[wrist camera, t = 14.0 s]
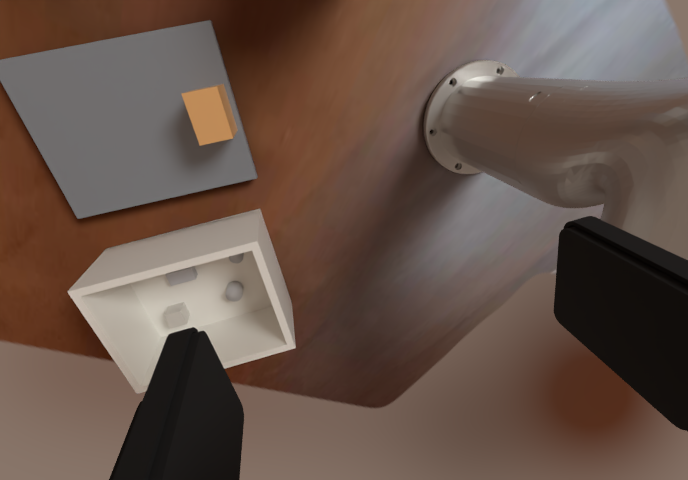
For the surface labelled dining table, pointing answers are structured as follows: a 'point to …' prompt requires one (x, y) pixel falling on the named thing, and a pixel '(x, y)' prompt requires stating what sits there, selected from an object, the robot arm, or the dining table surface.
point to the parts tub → (189, 295)
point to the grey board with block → (132, 117)
